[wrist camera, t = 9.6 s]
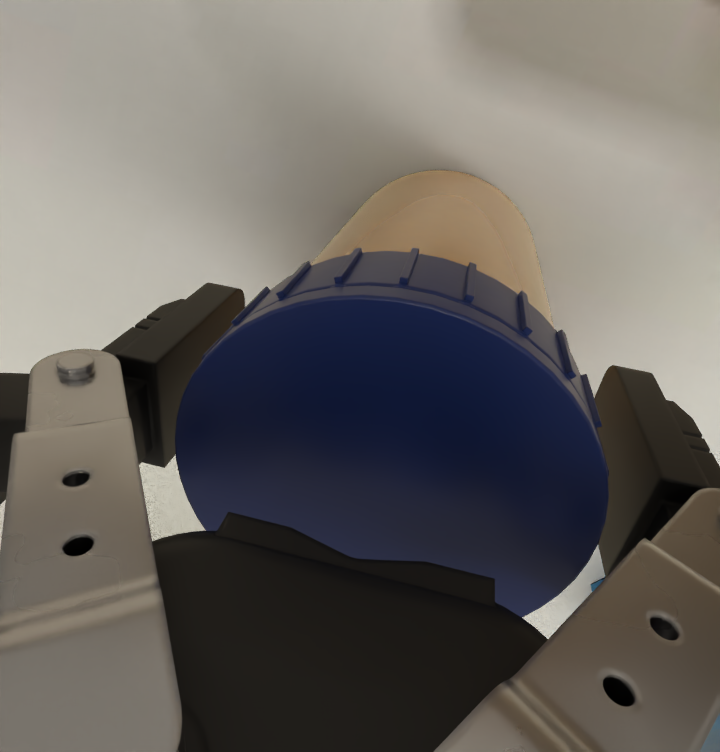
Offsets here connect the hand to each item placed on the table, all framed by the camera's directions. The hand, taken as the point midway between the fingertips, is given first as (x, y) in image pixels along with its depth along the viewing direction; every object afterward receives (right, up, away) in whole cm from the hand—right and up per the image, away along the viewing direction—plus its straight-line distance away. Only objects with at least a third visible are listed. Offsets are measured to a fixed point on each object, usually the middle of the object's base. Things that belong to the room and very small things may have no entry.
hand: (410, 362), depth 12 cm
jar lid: (-1, -2, -3) cm, 4 cm away
